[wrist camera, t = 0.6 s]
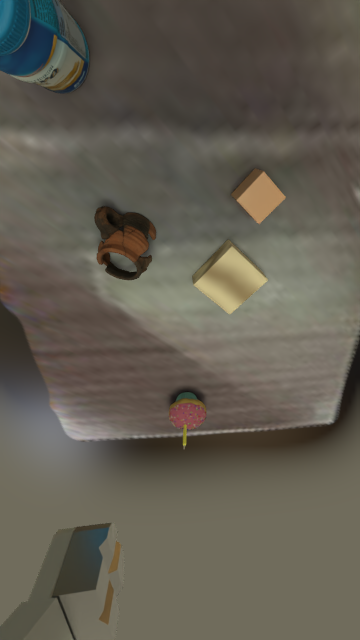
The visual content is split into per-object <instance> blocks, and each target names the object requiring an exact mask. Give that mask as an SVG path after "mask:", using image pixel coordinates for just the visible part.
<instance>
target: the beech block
mask: <svg viewBox="0 0 360 640" xmlns="http://www.w3.org/2000/svg"><path fill="white" fill-rule="evenodd" d="M192 278H193V284H194V286H195V287H197V288H198V289H199V290H200V291H201V292H203V293H204V294H205V295H206V296H208V297H209V298H210V299H211V300H212V301H214V302H215V303H216V304H217V305H219V306H220V307H221V308H222V309H223V310H225V311H226V312H227V313H228V314H231V313H232V312H233V311H234V310H235V309H237V308H238V307H239V306H240V305H241V304H242V303H243V302H244V301H245V300H247V299H248V298H249V297H250V296H251V295H252V294H253V293H254V292H255V291H257V290H258V289H259V288H260V287H261V286H262V285H263V284H264V283H266V282H267V281H268V279H267V278H266V276H265V275H264V273H263V272H262V271H261V270H260V269H259V268H258V267H257V266H256V265H255V264H254V263H253V262H252V261H251V260H249V259H248V258H247V257H246V256H245V255H244V254H243V253H242V252H241V251H240V250H239V249H238V248H237V247H236V246H235V245H234V244H233V243H232V242H231V241H230V240H227V241H226V242H225V243H224V244H223V245H222V246H221V247H220V248H219V249H218V250H217V251H216V252H215V253H214V254H213V256H212V257H211V258H210V259H209V260H208V261H207V262H206V263H205V264H204V265H203V266H202V267H201V268H200V269H199V270H198V271H197V272H196V273H195V274H194V275H193V276H192Z"/></svg>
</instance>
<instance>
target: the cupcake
mask: <svg viewBox="0 0 360 640" xmlns="http://www.w3.org/2000/svg"><path fill="white" fill-rule="evenodd" d="M169 419H170V421H171V423H172V424H173V425H174V426H176V427H177V428H178V429H179V428H180V429H184V430H183V445H184V448H185V445H186V430H190V429H193V428H196V427H198V426H200V425H201V424H202V423H203V421H204V420H205V419H206V407H205V405H204V404H203V403H202V402H201V401H200V400H198V399H197V397H196V396H195V395H194V394H193V393H190V392H184V393H181V394H180V395H178V397H177V399H176V402H174V403H173V404H171V405H170V409H169Z"/></svg>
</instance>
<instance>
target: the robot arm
mask: <svg viewBox="0 0 360 640" xmlns="http://www.w3.org/2000/svg"><path fill="white" fill-rule="evenodd" d="M117 533H118V532H117V529H116V526H115V523H106V524H97V525H89V526H82V527H74V528H67V529H60V530H58V531H57V532H56V534H55V535H54V536H53V539H52V541H51V544H50V546H49V549H48V551H47V554H46V556H45V559H44V561H43V564H42V566H41V569H40V572H39V574H38V576H37V579H36V581H35V584H34V586H33V589H32V592H31V594H30V596H29V599H28V601H27V602H22V603H21V604H20V605H19V606H18V607H17V608H16V609H15V610H14V612H13V613H12V614H11V615H10V616H9V617H8V618H7V619H6V621H5V622H4V623H3V624H2V625H1V626H0V640H115V638H116V631H117V624H118V617H119V610H120V609H119V605H118V602H117V599H116V597H117V595H118V594H119V592H120V591H121V589H122V588H123V581H124V554H123V549H122V545H121V544H120V543H119V542H117V541H116V539H117Z"/></svg>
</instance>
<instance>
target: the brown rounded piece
mask: <svg viewBox="0 0 360 640" xmlns="http://www.w3.org/2000/svg"><path fill="white" fill-rule="evenodd" d="M94 219H95V223H96V225H97V227H98V229H99V230H100V232H101V237H102V239H106V241H105V243H104V242H103V241H101V242H100V244H99V247H98V253H97V261H98V263H99V264H101V265H102V264H103V263H104V264H105V265H106V266H107V268H106V269H105V271H106V272H107V273H108V274H110V275H112V276H114V277H116V278H119V279H124V280H134V279H137V278H139V276H140V275H141V273H143V272H144V271H146V270H147V267H148V265H149V263H150V262H151V261H152V256H151V255H149V256H148V257H141V256H140V255H142V254H143V253H144V252H145V251H146V250H148V247H149V243H148V241H147V239H148V233H149V234H150V236H151V238H152V239H153V240H154V239H155V238H156V230H155V227H154V226H153V224H152V223H151V222H150V221H149V220H148V219H146V218H145V217H144V216H142V215H140V214H137V213H126V214H125V215H124V216H122V215H120V214H118V213H117V212H115V211H114V210H113V209H112V208H110V207H105V206H103V207H101V208H98V209H97V211H96V213H95V217H94ZM122 226H123V228H124V229H123V231H121V230H118V229H119V228H120V227H122ZM107 252H114V253H119V254H121V255H124V256H126V257H127V258H129V259H130V260H131V261H132V262H134V264H135V265H136V267H137V272H129V271H125V270H122V269H119V268H117V267H116V266H115V265H114V264H112V263H111V262H110V255H109V253H107Z"/></svg>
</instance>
